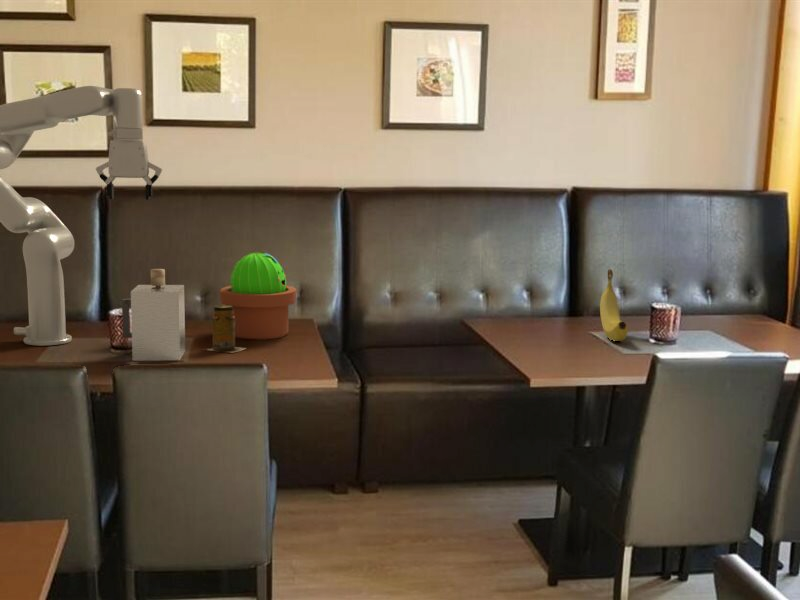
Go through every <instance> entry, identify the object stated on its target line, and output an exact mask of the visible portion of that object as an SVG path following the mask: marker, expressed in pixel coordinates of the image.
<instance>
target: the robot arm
mask: <svg viewBox="0 0 800 600" xmlns="http://www.w3.org/2000/svg"><path fill="white" fill-rule="evenodd" d="M142 98H143V96H142V92H141V90H139V89H138V88H133V87H131V88H129V87H127V88H126V87H119V88H118V87H117V88H113V89H112V88H105V87H101V86H97V85H96V86H95V85H84V86H80V87H79V86H78V87H73V88H69V89H65V90H61V91H57V92H53V93H50V94H49V93H48V94H46V95H42V96H37V97H32V98H28V99H23V100H18V101H13V102H7V103H3V104H0V170H4V169H7V168H9V167H11V166H12V165H13V164H14V163H15V162H16V160H17V159H18V157H19V156H20V154H21V153H22V151H23V150H24V148H25V146H27V143H28V142H29V140H30V139H31V137H32V136H33V134H34V132H35V131H36V132H37V131H40V130H46V129H52V128H54V127H57V126H58V125H59V123H61V122H63V121H67V120H73V119H77V118H81V117H87V116H98V117H99V116H101V117H107V116H112V118H113V120H112V122H113V128H112V129H111V130H108V131H107V135H108V136H111V137H112V138H113V140H112V139H111V140H110V142H109V149H108V150H109V151H108V161H107V162H105V163H103V164H100V165H99V166H96V168H95V171H96V172H97V174H98V176H99V178H100V179H101V180H102V181H103V182H104V183H105V185H106V196H107V197H108V199H109V200H113V199H115V189H114V187H115V185H114V183H113V181H114V180H115V179H116V178H119V179H121V178H123V179H126V178H128V179H143V180H144V181H145V182H146V184H145V200H147V201H149V200H151V197H153V184H154V183H155V182H156V181H157V180H158V179H159V178H160V176H161V173H162V172H163V169H162V168H161V167H160V166H157V165H155V164H153V163H152V162H150V161H149V155H148V154H149V153H148V149H147V143H146V140H144V138H143V137H144V136H143V132H144V131H143V99H142ZM107 168H108V175H109V176H107V175H106V174H105V173H104V170H105V169H107ZM150 169H151V170H153V171H155V172H154V175H152V177H150V176H149V174H150V173H149V172H150ZM0 223H1V224H2V226H3V227H4V228H5V229H6V230H7V231H9V232H11V233H15V234H22V233H28V234H27V235H26V237H25V238H24V240H23V243H22V254H23V261H24V264H25V271H26V273H25V274H26V286H27V307H28V325H27V326H25V327H22V326H21V327H20V326H19V327H18V326H15V327H14V328H13V334H14V335H16V336H22V335H24V336H26V337H24V338H23V343H24V344H26V345H28V346H29V345H30V346H38V347H39V346H43V347H45V346H58V345H65V344H68V343H70V342H71V341H72V340H73V338H72V337H73V336H72V335H70V334H68V333H67V331H66V329H67V326H66V303H65V301H66V299H65V283H64V281H65V280H64V272H63V268H62V264H61V260H63V259H65V258H67V257H69V256H71V254H72V253H73V252H74V248H75V239H74V235H73V234H72V232H71V231H70V230H69V228H68V227H67V226H66V225H65V224H64V223H63V222H62V220H61V219H60V218H59V216H57V215H56V214H55V212H53V211H52V209H51V208H50V207H49V206H48V205H47V204H46V203H44V202H43V201H42V200H40V199H39V198H35V197H31V196H28V197H23V196H22V195H20V193H18V192H17V191H16V190H15V189H14V188H13V186H12V185H11V184H10V183H9V182H8V181H7V180H6V179H5V178H4V177H3V176H1V175H0Z"/></svg>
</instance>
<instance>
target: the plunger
mask: <svg viewBox="0 0 800 600" xmlns="http://www.w3.org/2000/svg"><path fill="white" fill-rule="evenodd" d="M150 285H152V286H155V289H161V286H163V285H166V270H165V268H152V269H150Z"/></svg>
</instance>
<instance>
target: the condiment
mask: <svg viewBox="0 0 800 600" xmlns="http://www.w3.org/2000/svg"><path fill="white" fill-rule="evenodd" d="M233 309H234V308H233V306H229V305H225V304H220V305H215V306H214V307H213V316H212V347H211V348H207V349H206V350H207V351H209V352H211V351H212V352H220V353H221V352H222V353H230V354H232V353H237V352H241V351H243V350H247V347H239V346H236V338H235V316H234V311H233Z"/></svg>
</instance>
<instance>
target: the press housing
mask: <svg viewBox="0 0 800 600" xmlns="http://www.w3.org/2000/svg"><path fill="white" fill-rule="evenodd" d="M130 308H131V309H130ZM130 311H131V312H130ZM121 314H122V322H121V323H122V338H126V339H131V347H132V349H131V351H132V352H131V356H132V358H131V359H132V361H133V362H134V361H135V362H137V361H139V362H141V361H144V362H145V361H147V362H149V361H181V359H182V357H183V356H184V353H186V329H185V328H186V327H185V326H186V325H185V324H186V323H185V322H186V320H185V319H186V317H185V285H184V284H165V285H163V286H161V289H155V286H152V285H151V284H138V285H136V286H135V287H134V288H133V289H132V290H131V291H130V298H122V299H121ZM130 314H131V316H130ZM130 318H131V320H130ZM130 323H131V324H130Z"/></svg>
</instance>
